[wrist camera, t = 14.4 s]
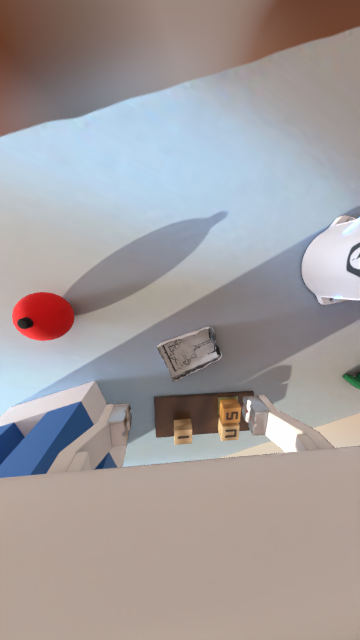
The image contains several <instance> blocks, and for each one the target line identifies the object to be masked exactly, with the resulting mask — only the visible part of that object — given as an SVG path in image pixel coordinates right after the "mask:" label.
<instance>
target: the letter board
mask: <svg viewBox="0 0 360 640" xmlns="http://www.w3.org/2000/svg"><path fill="white" fill-rule="evenodd" d="M245 396H254V392H253V391H245V392H228V393H211V394H194V395H177V396H160V397H155V398H154V403H155V423H156V438H157V437H170V436H174V442H175V445H177V444H189V443H192V435H195V434H208V433H219V435H220V437H221V440H222V441H226V440H238V437H239V431H247V430H250V429H249V427H248V424H249V423H247V422H246V421H245V420H244V418H243V415H242V406H243V405H244V403H243V397H245ZM220 399H237V401H238V403H239V405H240V406H241V415H240V422H237V423H222V421H221V418H220V415H219V403H220Z"/></svg>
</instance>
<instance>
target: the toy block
mask: <svg viewBox="0 0 360 640" xmlns="http://www.w3.org/2000/svg"><path fill="white" fill-rule="evenodd" d="M106 406H107V403H106V401H105V399H104V397H103V395H102V393H101V391H100V389H99V387H98V385H97V383H96V381H92V382H89V383H85V384H82V385H79V386H76V387H73V388H70V389H66V390H63V391H60V392H57V393H54V394H51V395H47V396H44V397H41V398H38V399H35V400H31V401H28V402H25V403H22V404H19V405H16V406H12V407H11V408H10V409H8V410H7V411H6V412H5V413H4V414H2V415H1V416H0V478H6V477H17V476H28V475H39V474H46V473H47V472H48V470H49V469H50V467H51V465H52V464H53V462H54V460H55V459H56V457H57V456H58V454H59V453H60V452H61V451H62V450H63V449H65V448H66V447H67V446H68V445H70V444H71V443H72V442H73V441H75V440H76V439H77V438H78V437H80V436H81V435H82V434H83V433H85V432H86V431H87V430H88V429H90V428H91V427H92V426H93V425H95V424H98V422H99V420H100V418H101V416H102V414H103V411H104V409H105V407H106ZM126 448H127V443H126V445H125V446H116V447H112V449H111V450H110V451H109V452H108V453H107V455H106V456H105V457H104V458H103V460H102V461H101V462H100V463H99V464H98V466H97V467H96V468H95V469H94V470H96V469H107V468H118V467H122V465H123V461H124V457H125V453H126Z"/></svg>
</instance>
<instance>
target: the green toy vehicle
mask: <svg viewBox="0 0 360 640" xmlns="http://www.w3.org/2000/svg"><path fill="white" fill-rule="evenodd" d="M343 378H344V379H345V380H346V381H348V382H349V383H350V384H351V385H353V386H354V387H356V388H358V389H360V373H359V374H358V375H356V377H353V376H351V375H348V374H345V375H343Z"/></svg>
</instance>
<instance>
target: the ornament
mask: <svg viewBox="0 0 360 640" xmlns="http://www.w3.org/2000/svg"><path fill="white" fill-rule="evenodd" d="M12 318H13V323H14V325H15V327H16V328H17V330H18V331H19V332H21V333H22V334H23V335H25V336H26V337H29V338H31V339H35V340H42V341H45V340H53V339H56V338H59V337H61V336H63V335H64V334H65V333H67V332H68V331H69V329H70V328H71V327H72V325H73V322H74V312H73V309H72V307H71V305H70V304H69V303H68V302H67V301H66V300H65V299H64V298H62V297H60V296H58V295H56V294H52V293H46V292H40V293H34V294H30V295H28V296H26V297H24V298H22V299H21V300H20V301H19V302H18V303H17V304H16V306H15V307H14V309H13V314H12Z"/></svg>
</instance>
